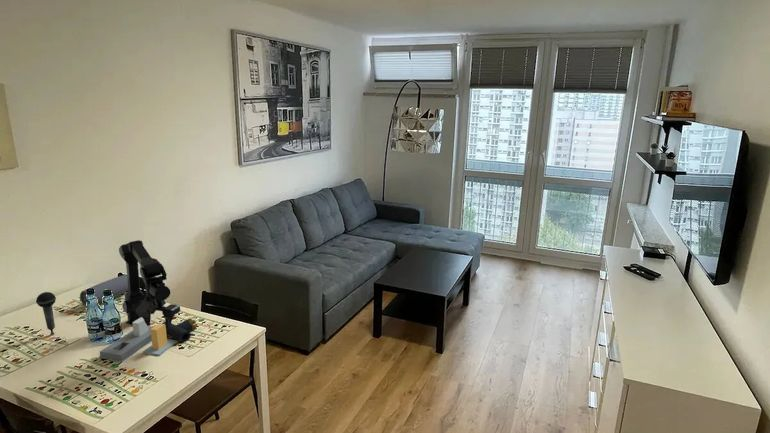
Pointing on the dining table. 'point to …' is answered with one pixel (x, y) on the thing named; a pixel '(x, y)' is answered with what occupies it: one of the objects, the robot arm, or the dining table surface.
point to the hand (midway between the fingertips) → (158, 327)
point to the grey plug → (140, 327)
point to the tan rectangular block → (158, 336)
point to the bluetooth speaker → (115, 285)
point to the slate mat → (160, 351)
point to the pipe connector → (181, 330)
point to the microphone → (47, 308)
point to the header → (126, 346)
